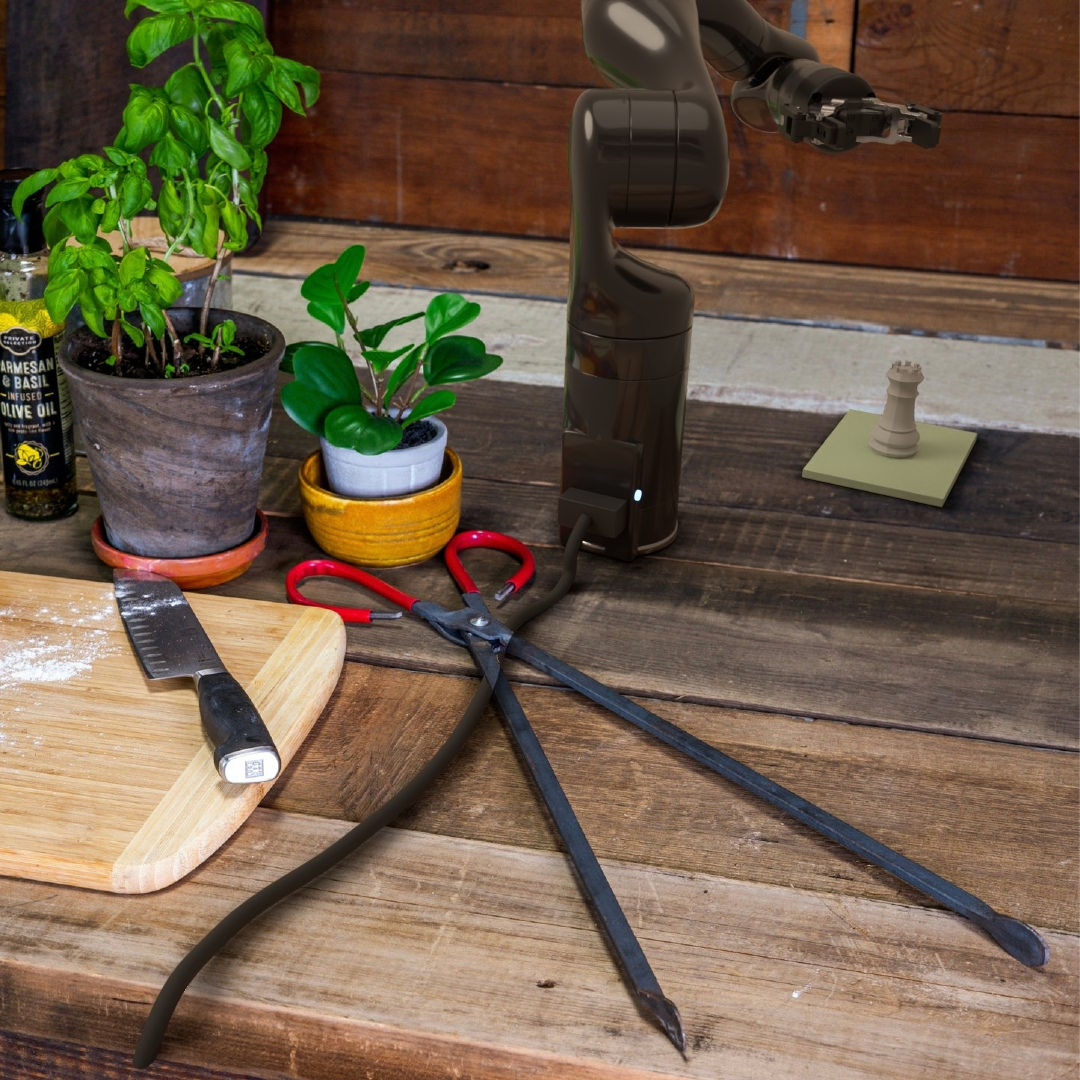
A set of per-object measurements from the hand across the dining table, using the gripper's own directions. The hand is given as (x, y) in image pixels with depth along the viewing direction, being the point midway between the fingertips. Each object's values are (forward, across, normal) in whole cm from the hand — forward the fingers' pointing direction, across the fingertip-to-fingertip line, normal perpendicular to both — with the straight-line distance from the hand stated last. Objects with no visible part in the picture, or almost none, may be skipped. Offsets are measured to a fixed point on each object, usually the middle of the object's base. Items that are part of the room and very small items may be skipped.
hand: (887, 137), depth 111 cm
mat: (+11, 0, +26) cm, 28 cm away
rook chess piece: (+11, 0, +25) cm, 28 cm away
